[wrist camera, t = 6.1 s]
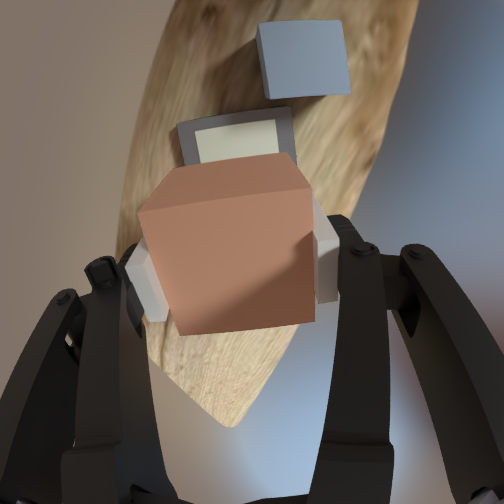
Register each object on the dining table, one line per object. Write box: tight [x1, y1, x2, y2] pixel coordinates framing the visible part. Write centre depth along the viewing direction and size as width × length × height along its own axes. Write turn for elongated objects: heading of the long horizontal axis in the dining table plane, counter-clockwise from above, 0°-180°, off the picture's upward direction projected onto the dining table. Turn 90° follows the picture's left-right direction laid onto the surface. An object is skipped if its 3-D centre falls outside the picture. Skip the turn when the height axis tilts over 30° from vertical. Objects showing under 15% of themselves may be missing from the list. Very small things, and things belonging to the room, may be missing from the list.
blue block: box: [256, 20, 351, 99], centre depth 20 cm, size 6×6×6 cm
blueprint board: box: [176, 106, 297, 166], centre depth 26 cm, size 10×9×2 cm
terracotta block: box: [137, 152, 315, 336], centre depth 14 cm, size 6×6×6 cm
